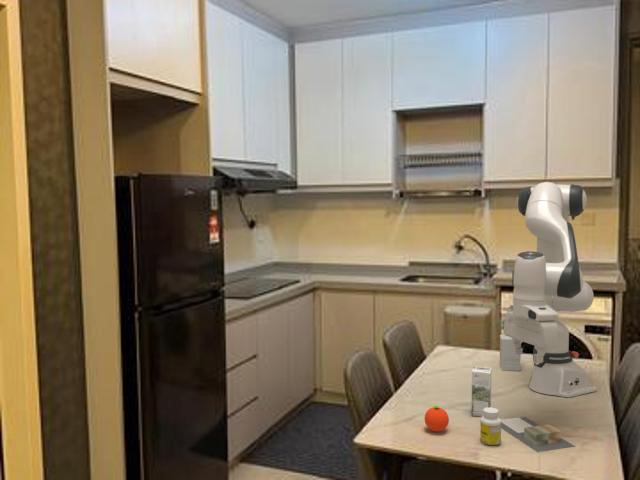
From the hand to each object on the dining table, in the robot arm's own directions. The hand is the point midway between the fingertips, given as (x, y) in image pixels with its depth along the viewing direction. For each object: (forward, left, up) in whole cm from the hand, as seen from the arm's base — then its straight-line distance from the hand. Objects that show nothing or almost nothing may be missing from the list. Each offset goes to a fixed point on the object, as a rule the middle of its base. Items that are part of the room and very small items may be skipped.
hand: (528, 358), depth 162 cm
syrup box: (+4, -17, -22) cm, 28 cm away
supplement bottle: (+14, +3, -22) cm, 27 cm away
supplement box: (-33, -57, -22) cm, 69 cm away
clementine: (+23, -10, -22) cm, 34 cm away
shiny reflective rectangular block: (-1, +6, -21) cm, 22 cm away
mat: (-1, +1, -22) cm, 22 cm away
